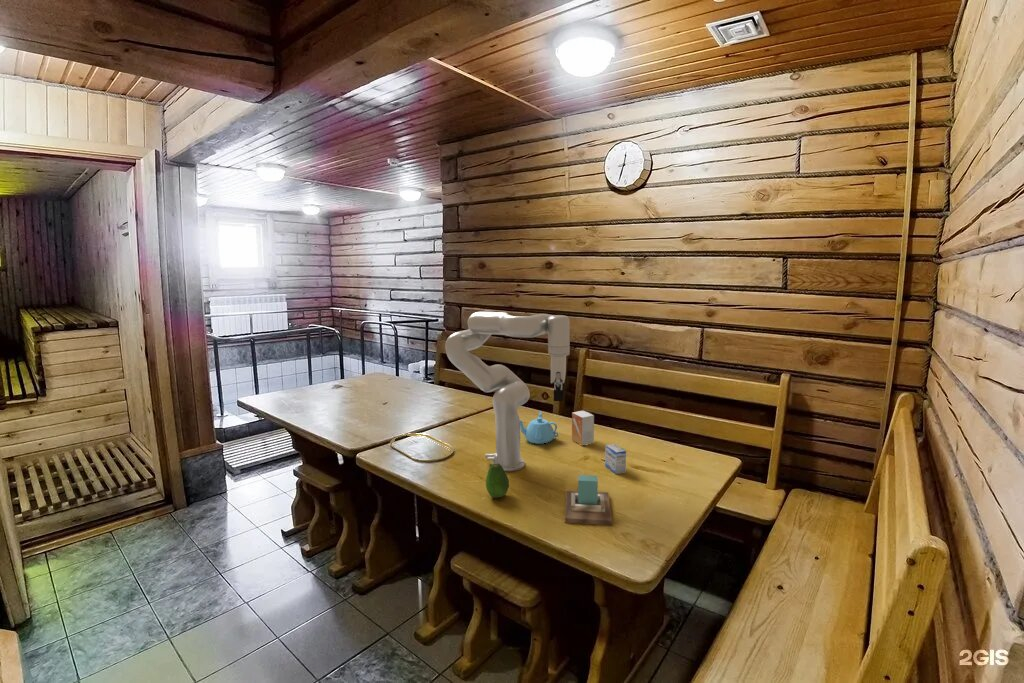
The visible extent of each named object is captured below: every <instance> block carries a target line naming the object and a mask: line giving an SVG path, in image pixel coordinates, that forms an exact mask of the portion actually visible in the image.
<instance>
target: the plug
mask: <svg viewBox="0 0 1024 683" xmlns="http://www.w3.org/2000/svg"><path fill="white" fill-rule="evenodd" d="M598 479H599V478H598V475H587V474H578V478H577V483H578V484H577V491H578V504H586V505H597V498H598V492H599V488H598V483H599V482H598Z"/></svg>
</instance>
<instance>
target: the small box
mask: <svg viewBox="0 0 1024 683" xmlns="http://www.w3.org/2000/svg"><path fill="white" fill-rule="evenodd" d="M594 428H595V415H594V414H592V413H591V412H587V411H585V410H578V411H574V412H571V441H572V440H573V442H574V441H575V442H574V443H576V442H577V443H576V444H578V443H579V444H581V445H586V444H590V443H594V444H595V442H594V441H595V439H594V437H595V435H594V434H595V429H594ZM579 444H578V445H579ZM581 445H580V446H581ZM590 445H591V444H590ZM586 446H587V445H586Z"/></svg>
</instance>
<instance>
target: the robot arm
mask: <svg viewBox="0 0 1024 683" xmlns="http://www.w3.org/2000/svg"><path fill="white" fill-rule="evenodd" d="M570 323H571V321H570V318H569V316H567V315H563V314H556V315H555V314H553V315H552V314H548V313H538V314H532V315H529V316H522V315H521V316H517V315H516V316H515V315H514V316H513V315H511V314H509V313H508V312H505V311H494V310H491V309H485V310H480V311H476V312H473V313H472V314H470V316H469V317H468V319H467V326H468V329H464V330H460V331H456V332H453V333H452V334H450V335H449V336H448V337H447V339H446V341H445V346H444V348H445V353H446V356H447V358H448V360H449V361H450V362H451V364H452V365H454V367H456V368H457V369H458V370H459V371H460V372H462V373H463V374H464V375H465V376H466V377H467V378H468V379H469V380H470V381H472V383H473V384H474V385H475V386H476V387H478V388H479V389H480V391H483V392H484V393H492V392H493V391H495V392H494V394H493V396H492V407H493V412H494V419H495V422H494V423H495V424H494V425H495V452H494V453H485V456H484V457H485V459H487V461H492V464H494V463H497V464H500V465H501V466H502V467H503V469H504V471H505V472H515V471H519V470H521V469H523V468H524V467H525V465H526V464H525V460H524V459H523V458H522V456H521V455H522V454H521V428H520V420H521V419H520V415H519V413H518V408H519V407H521V406H523V405H524V404H526V403H527V402H528V401H529V399H530V396H531V395H530V393H531V392H530V389H529V387H528V386H527V384H526V383H525V382H524V381H523V380H522V379H521V378H520V377H518V375H516V374H515V373H514V372H513V371H512V370H510V368H509V367H507V366H505V365H503V364H493V365H488V364H486V363H485V362H484V361H482V359H481V358H480V357H478V355H477V356H476V355H475V354H473V353H471V352H470V351H473V350H477V349H478V348H480V347H481V346H483V345H484V343H486V341H487V340H488V339H489V338H490V337H491V336H492V335H501V336H507V337H511V338H536V337H539V336H543V335H547V347H548V348H547V352H548V353H547V355H549V356H550V384H554V388H553V401H554V402H564V393H565V384H564V383H565V380H566V374H567V373H566V372H567V356H570V352H571V351H570V344H571V343H570V338H571V337H570V333H571V332H570V331H571V330H570V326H571V325H570Z"/></svg>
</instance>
